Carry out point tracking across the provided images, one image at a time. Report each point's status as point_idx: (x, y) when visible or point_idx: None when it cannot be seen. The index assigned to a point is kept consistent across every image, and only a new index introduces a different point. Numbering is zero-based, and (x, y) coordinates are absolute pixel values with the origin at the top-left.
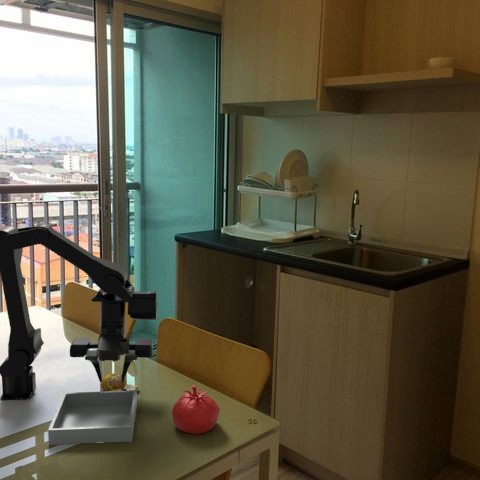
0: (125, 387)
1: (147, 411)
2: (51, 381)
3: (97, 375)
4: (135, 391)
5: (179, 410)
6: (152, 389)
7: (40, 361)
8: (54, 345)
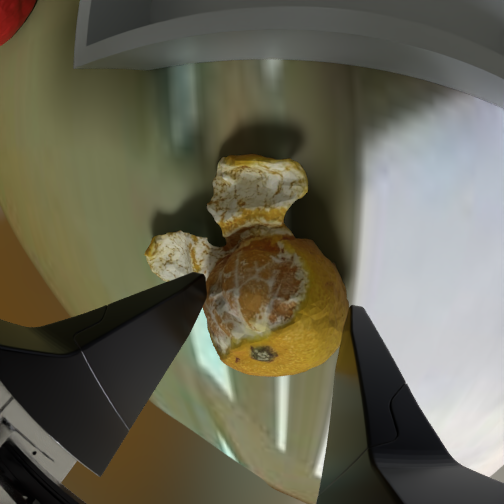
0: (203, 256)
1: None
2: (499, 392)
3: (384, 343)
4: (79, 52)
5: None
6: (112, 244)
7: (461, 463)
8: None
